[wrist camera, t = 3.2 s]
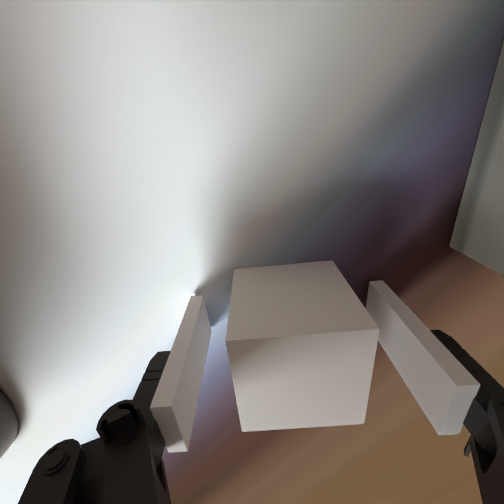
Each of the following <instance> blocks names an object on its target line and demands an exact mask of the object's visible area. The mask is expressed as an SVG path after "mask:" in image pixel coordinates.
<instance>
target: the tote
mask: <svg viewBox="0 0 504 504" xmlns="http://www.w3.org/2000/svg"><path fill="white" fill-rule="evenodd" d="M449 247H451V248H453V249H455V250H456V251H458V252H460V253H462V254H464V255H466V256H468V257H469V258H471V259H473V260H475V261H477V262H479V263H481V264H482V265H484V266H486V267H488V268H490V269H492V270H494V271H495V272H497V273H499V274H501V275H503V276H504V41H503V45H502V48H501V52H500V56H499V60H498V64H497V67H496V71H495V75H494V79H493V82H492V86H491V90H490V94H489V97H488V101H487V105H486V109H485V113H484V116H483V120H482V124H481V128H480V131H479V135H478V139H477V143H476V146H475V150H474V154H473V158H472V162H471V165H470V169H469V173H468V177H467V180H466V184H465V188H464V192H463V195H462V199H461V203H460V207H459V211H458V214H457V218H456V222H455V226H454V229H453V233H452V237H451V241H450V245H449Z"/></svg>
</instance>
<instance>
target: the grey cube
mask: <svg viewBox="0 0 504 504" xmlns="http://www.w3.org/2000/svg"><path fill="white" fill-rule="evenodd" d="M378 335H379V328H378V326H377V325H376V323H375V322H374V320H373V319H372V317H371V316H370V315H369V313H368V312H367V310H366V309H365V307H364V306H363V304H362V303H361V301H360V300H359V298H358V297H357V295H356V294H355V293H354V291H353V290H352V288H351V287H350V285H349V284H348V282H347V281H346V279H345V278H344V276H343V275H342V274H341V272H340V271H339V269H338V268H337V266H336V265H335V263H334V262H333V260H330V261H318V262H307V263H295V264H284V265H272V266H260V267H249V268H237V269H234V274H233V282H232V291H231V299H230V308H229V316H228V324H227V333H226V346H227V352H228V357H229V363H230V368H231V374H232V379H233V385H234V390H235V396H236V401H237V407H238V412H239V417H240V423H241V428H242V432H247V431H262V430H277V429H292V428H308V427H323V426H338V425H353V424H364V421H365V415H366V409H367V403H368V396H369V390H370V384H371V378H372V372H373V366H374V359H375V353H376V347H377V341H378Z"/></svg>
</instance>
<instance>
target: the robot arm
mask: <svg viewBox="0 0 504 504" xmlns="http://www.w3.org/2000/svg"><path fill="white" fill-rule="evenodd" d="M366 310H367V312H368V313H369V315H370V316H371V317H372V319H373V320H374V322H375V323H376V325H377V326H378V328H379V335H378V341H379V342H380V344H381V346H382V347H383V349H384V350H385V352H386V353H387V355H388V357H389V358H390V360H391V361H392V363H393V364H394V366H395V368H396V369H397V371H398V372H399V374H400V375H401V377H402V379H403V380H404V382H405V383H406V385H407V386H408V388H409V390H410V391H411V393H412V394H413V396H414V397H415V399H416V401H417V402H418V404H419V405H420V407H421V408H422V410H423V412H424V413H425V415H426V416H427V418H428V419H429V421H430V423H431V424H432V426H433V427H434V429H435V430H436V432H437V434H438V435H452V434H459V433H460V431H461V429H462V427H463V424H464V425H465V427H466V428H467V429H468V431H469V432H470V433H471V436H470V438H469V440H468V442H467V444H466V446H465V448H464V455H465V456H467V457H468V455H469V453H470V451H471V453H472V457H473V462H474V466H475V470H476V475H477V479H478V484H479V488H480V493H481V497H482V502H483V504H504V388H503V387H502V386H501V385H500V384H499V383H498V382H497V381H496V380H495V379H494V378H493V377H492V376H491V375H490V374H489V373H488V372H487V371H486V370H485V369H484V368H483V367H482V366H481V365H479V364H478V363H477V362H476V361H475V360H474V359H473V358H472V357H470V355H469V354H468V353H467V352H466V351H465V350H464V349H462V347H461V346H460V345H459V344H458V343H457V342H456V341H455V340H454V339H453V338H452V337H450V336H449V335H447V334H446V333H444V332H442V331H441V330H429V329H428V328H427V327H426V326H425V325H424V324H423V323H422V322H421V321H420V320H419V318H418V317H417V316H416V315H415V314H414V313H413V312H412V311H411V310H410V309H409V308H408V307H407V306H406V305H405V304H404V302H403V301H402V300H401V299H400V298H399V297H398V296H397V295H396V294H395V293H394V292H393V291H392V290H391V289H390V288H389V287H388V285H387V284H386V283H385V282H384V281H383V280H380V281H369V287H368V295H367V303H366ZM210 336H211V327H210V322H209V317H208V312H207V308H206V303H205V298H204V295H200V296H191V298H190V301H189V303H188V306H187V309H186V311H185V314H184V317H183V319H182V322H181V325H180V327H179V330H178V333H177V336H176V338H175V341H174V344H173V346H172V349H171V351H162V352H157V354H156V355H155V356H154V357H153V358H152V359H151V360H150V362H149V364H148V366H147V369H146V371H145V373H144V375H143V378H142V381H141V382H140V384H139V386H138V389H137V391H136V393H135V395H134V398H133V400H123V401H120V402H117V403H116V404H114V405H113V406H111V407H110V408H109V409H108V410H107V411H106V412H105V413H104V414H103V415H102V416H101V418H100V420H99V421H98V424H97V428H96V430H97V432H98V434H99V435H100V438H97V439H95V440H92V441H90V442H87V443H85V444H82V445H80V444H79V442H78V441H76V440H74V439H68V440H64V441H62V442H59V443H57V444H56V445H54V446H53V447H52V448H50V449H49V450H48V451H47V452H46V453H45V454H44V455H43V456H42V457H41V458H40V459H39V461H38V463H37V464H36V466H35V468H34V469H33V472H32V474H31V476H30V478H29V480H28V483H27V485H26V487H25V489H24V491H23V494H22V496H21V498H20V500H19V502H18V504H171V500H170V495H169V490H168V484H167V479H166V473H165V468H164V463H163V460H162V454H163V450H164V447H165V446H166V448H167V450H168V453H169V452H184V451H188V447H189V442H190V437H191V432H192V427H193V422H194V417H195V412H196V407H197V401H198V396H199V391H200V386H201V381H202V376H203V371H204V366H205V361H206V356H207V351H208V346H209V341H210ZM17 431H18V422H17V418H16V415H15V412H14V410H13V408H12V406H11V405H10V403H9V401H8V400H7V399H6V397H5V396H4V395H3V394H2V393H1V391H0V458H1V457H2V456H3V454H4V453H5V452H6V451H7V449H8V448H9V447H10V445H11V444H12V443H13V441H14V440H15V438H16V435H17Z"/></svg>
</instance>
